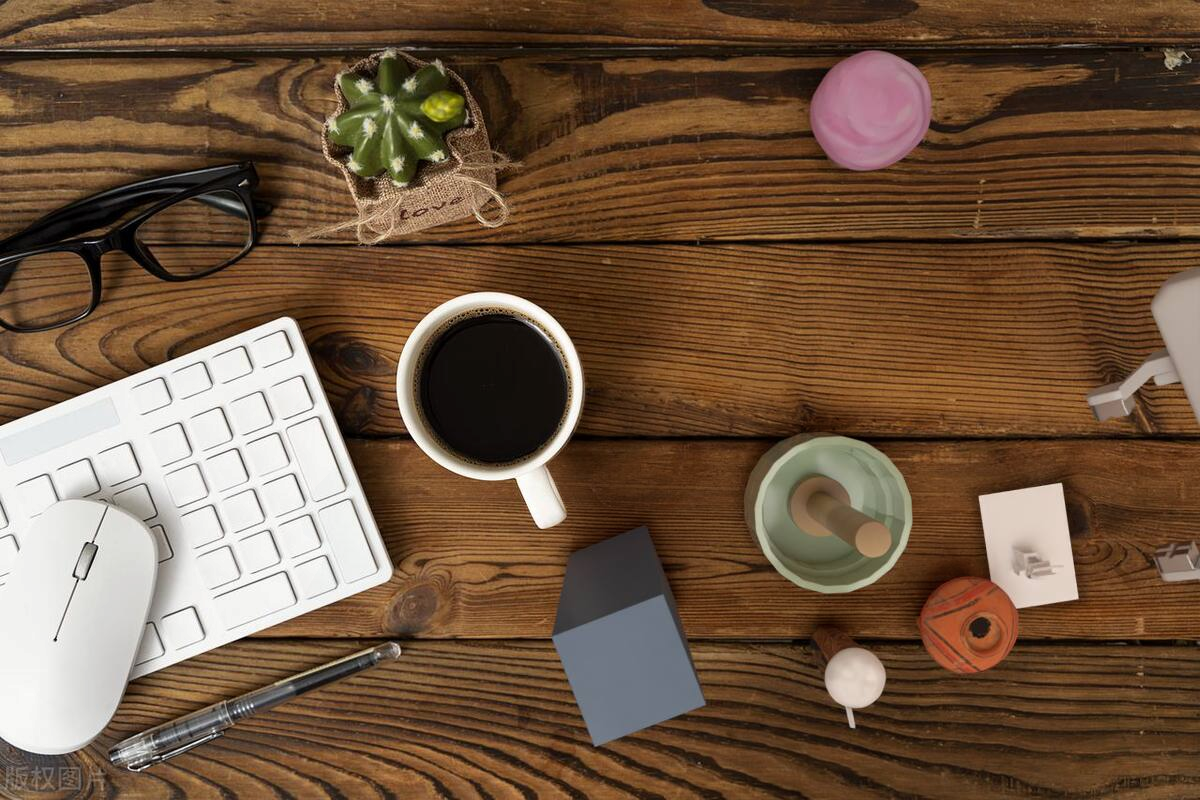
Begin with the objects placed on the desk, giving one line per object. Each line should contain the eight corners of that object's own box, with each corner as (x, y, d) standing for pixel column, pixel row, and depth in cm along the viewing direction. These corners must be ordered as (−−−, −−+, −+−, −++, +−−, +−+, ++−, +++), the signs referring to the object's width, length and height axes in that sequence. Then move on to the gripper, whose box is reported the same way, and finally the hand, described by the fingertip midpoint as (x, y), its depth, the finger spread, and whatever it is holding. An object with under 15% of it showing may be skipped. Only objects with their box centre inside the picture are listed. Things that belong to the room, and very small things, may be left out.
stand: (675, 600, 73) (706, 704, 50) (598, 630, 73) (594, 747, 50) (645, 524, 73) (663, 593, 50) (569, 554, 73) (551, 636, 50)
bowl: (908, 544, 72) (935, 559, 66) (773, 596, 73) (788, 615, 67) (856, 410, 72) (879, 413, 66) (721, 462, 72) (732, 470, 66)
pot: (914, 555, 72) (965, 576, 66) (990, 576, 74) (1048, 599, 67) (887, 646, 72) (936, 676, 66) (964, 665, 74) (1019, 696, 67)
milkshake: (793, 673, 73) (822, 720, 63) (808, 612, 73) (840, 650, 63) (844, 686, 73) (882, 735, 63) (860, 625, 73) (900, 665, 63)
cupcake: (823, 205, 72) (857, 178, 62) (775, 113, 72) (802, 70, 62) (918, 155, 72) (968, 120, 62) (870, 63, 71) (913, 12, 61)
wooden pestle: (854, 521, 72) (922, 561, 56) (799, 542, 72) (851, 588, 56) (833, 465, 72) (895, 490, 56) (777, 487, 72) (824, 517, 56)
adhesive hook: (1012, 578, 72) (1031, 587, 69) (1008, 548, 72) (1026, 556, 69) (1048, 572, 72) (1068, 581, 69) (1044, 542, 72) (1063, 550, 69)
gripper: (1380, 212, 34) (1034, 324, 44) (1570, 673, 35) (1186, 682, 45) (1383, 191, 39) (1067, 297, 49) (1552, 601, 39) (1205, 623, 49)
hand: (1125, 484), depth 47 cm, fingers open, 8 cm apart
